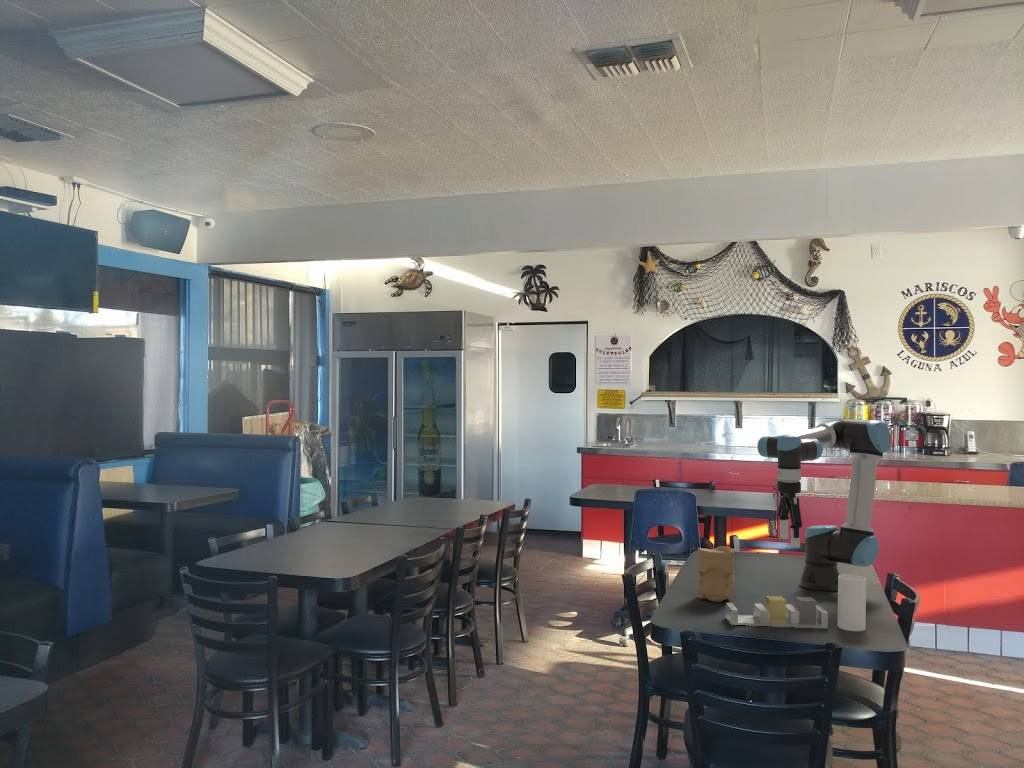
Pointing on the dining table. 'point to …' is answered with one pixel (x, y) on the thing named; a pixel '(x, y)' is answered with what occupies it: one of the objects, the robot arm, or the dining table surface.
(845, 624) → the cup
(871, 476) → the robot arm
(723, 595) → the container
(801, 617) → the white slotted rack
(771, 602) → the tan wooden cube
